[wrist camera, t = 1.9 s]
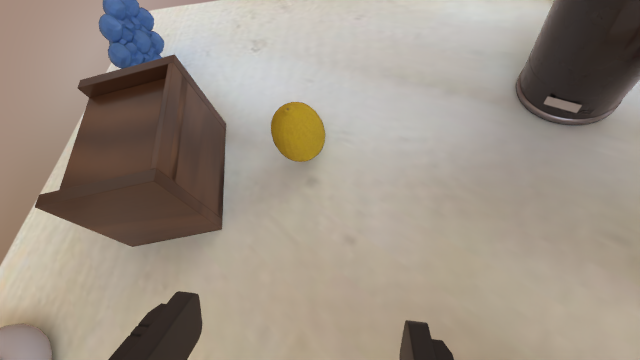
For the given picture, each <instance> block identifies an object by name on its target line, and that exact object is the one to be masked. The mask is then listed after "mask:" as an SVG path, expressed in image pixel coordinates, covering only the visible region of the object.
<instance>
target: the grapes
mask: <svg viewBox="0 0 640 360" xmlns="http://www.w3.org/2000/svg"><path fill="white" fill-rule="evenodd" d="M103 9H104V11H105V13H106V14H104V15H103V16H101V18H100V20H99V29H100V31H101V33H102V35H103V36H104V37H105V38H106V39H108V40H109V44H110V46H109V49H108V55H109V58H110V60H111V62H112V63H113V64H114V65H115V66H116V67H119V68H121V69H123V68H127V67H131V66H134V65H138V64H142V63H145V62H149V61H153V60H156V59H160V58H162V57H161V56H160V55H159V54H160V53H161V52H162V51H163V48H164V41H163V39H162V38H161V36H160V35H159V34H158V33H156V32H154V31H151V30H152V29H153V26H154V18H153V17H152V15H151V14H150V13H149V12H148V11H147V10H146V9H144V8H139V3H138V2H137V1H136V0H103Z"/></svg>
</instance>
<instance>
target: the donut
mask: <svg viewBox="0 0 640 360" xmlns="http://www.w3.org/2000/svg"><path fill="white" fill-rule="evenodd" d="M0 360H52V349H51V345H50V342H49V339H48V338H47V336H46V335H45V334H44V333H43V332H42V331H41V330H40V329H39V328H37V327H33V326H30V325H27V324H15V325H8V326H4V327H1V328H0Z"/></svg>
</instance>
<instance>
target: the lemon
mask: <svg viewBox="0 0 640 360" xmlns="http://www.w3.org/2000/svg"><path fill="white" fill-rule="evenodd" d="M271 133H272V137H273V140H274V143H275V145H276V147H277V148H278V150H279V151H280V152H281V153H282V154H283V155H284V156H285V157H287V158H288V159H291V160H293V161H299V162H302V161H308V160H311V159H312V158H314V157H315V156H317V155H318V154H319V152H320V151H321V149H322V148H323V145H324V142H325V130H324V126H323V123H322V121H321V119H320V117H319V116H318V114H317V113H316V112H315V111H314V110H313V109H312V108H311V107H310V106H308V105H306V104H304V103H300V102H291V103H287V104H285V105H283V106H281V107H280V108H279V109H278V110H277V111H276V112H275V114H274V116H273V119H272V122H271Z"/></svg>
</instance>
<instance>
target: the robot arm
mask: <svg viewBox="0 0 640 360" xmlns="http://www.w3.org/2000/svg"><path fill="white" fill-rule="evenodd" d="M639 80H640V0H554V2H553V4H552V7H551V9H550V11H549V13H548V16H547V18H546V20H545V22H544V25H543V27H542V29H541V31H540V34H539V36H538V38H537V40H536V42H535V45H534V47H533V49H532V51H531V53H530V56H529V58H528V60H527V62H526V65H525V67H524V69H523V70H522V72H521V73H520V76H519V78H518V80H517V84H516V91H517V95H518V97H519V99H520V101H521V102H522V104H523V105H524V106H525V107H526V108H527V109H528V110H529V111H531V112H532V113H533V114H535V115H537V116H538V117H541V118H543V119H545V120H548V121H551V122H554V123H559V124H566V125H583V124H589V123H593V122H596V121H599V120H601V119H604V118H605V117H607V116H608V115H610V114H611V113H612V112H613V111H614V110H615V109H616V108H617V107H618V105H619V104H620V103H621V101H622V99H623V98H624V97H625V96H626V95H627V93H628V92H629V91H630V90H631V89H632V88H633V87H634V86H635V85H636V84H637V82H638V81H639ZM201 331H202V317H201V308H200V300H199V295H198V294H196V293H188V292H180V291H178V292H176V293H175V294H174V295H173V297H172V298H171V299H170V300H169V302H168V303H167V304H162V303H161V304H160V305H159V306H157V307H156V308H154V309H153V310H151V311H150V312H148V313H147V315H146V316H145V317H144V318H143V319H142V320H141V322H140V323H139V325H138V326H136V328H135V329H134V330H133V331H132V332H131V335H130V336H128V337H127V338H126V339H125V341H124V342H123V343H122V344H121V345H120V346H119V348H118V349H117V350H116V351H115V352H114V354H113V355H112V356H111V357H110V358H109V359H108V360H187V358H188V357H189V355H190V353H191V352H192V350H193V348H194V347H195V345H196V343H197V341H198V340H199V337H200V334H201ZM400 360H454V358H453V355H452V353H451V352H450V350H449V349H448V348H447V346H446V345H445V344H444V342H443V341H442V340H434V339H431V335H430V331H429V327H428V324H427V323H424V322H416V321H408V320H406V321H405V325H404V331H403V337H402V343H401V349H400Z"/></svg>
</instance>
